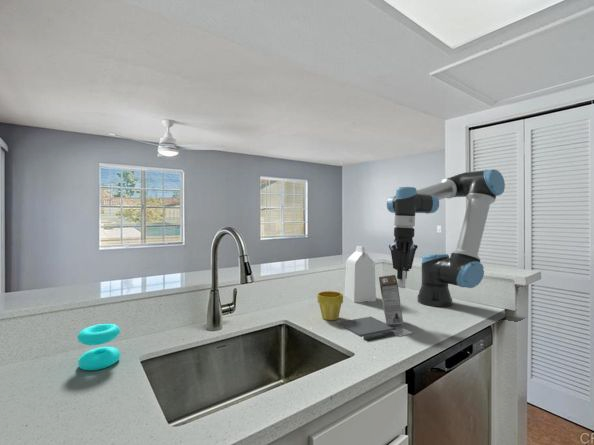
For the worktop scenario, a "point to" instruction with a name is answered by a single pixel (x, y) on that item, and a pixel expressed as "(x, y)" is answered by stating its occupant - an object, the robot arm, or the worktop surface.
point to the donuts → (100, 355)
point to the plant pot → (330, 304)
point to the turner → (388, 334)
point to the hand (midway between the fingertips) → (401, 287)
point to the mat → (365, 326)
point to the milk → (360, 277)
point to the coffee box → (391, 300)
